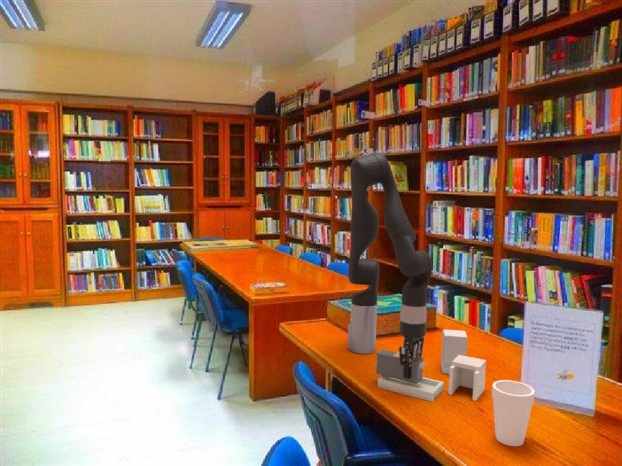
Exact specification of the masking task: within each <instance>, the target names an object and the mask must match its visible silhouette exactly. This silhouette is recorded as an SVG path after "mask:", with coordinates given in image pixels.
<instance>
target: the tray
mask: <svg viewBox="0 0 622 466" xmlns="http://www.w3.org/2000/svg"><path fill="white" fill-rule="evenodd" d="M444 386H445V381H441V380H436V379H432V378H428V377H425V376H423V377H422V380H421V381H420V382H419V383H418V384H414V383H410V382H406V381H402V380H398V379H394V378H390V377H386V376H382V375H380V377H379V378H377V388H379V389H383V390H387V391H391V392H395V393H398V394H401V395H402V394H403V395H405V396H410V397H413V398H417V399H421V400H425V401H427V402H432V403H433V402H434V401H435V400H436V399H437V398H438V397H439V396H440V395H441V394H442V392H443V391H444Z"/></svg>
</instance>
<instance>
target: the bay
mask: <svg viewBox="0 0 622 466" xmlns="http://www.w3.org/2000/svg"><path fill="white" fill-rule="evenodd" d="M486 366H487V360H486V359H482V358H478V357H476V358H475V357H473V356H467V355H466V356H463V355H458V356H457V357H456V358H455V359H454V360H453V361H452V366H451V367H450V372H449V374H448V375H449V376H448V391H447V392H448V394H447V395H450V396H451V395H453V394H454V393H455V392H456V390H457V389H458V388H460V387H464V388H469V389H472V401H475V402H477V401H478V399H479V398H480V396H481V395H482V394H483V393H484V391H485V384H486V383H485V382H486V370H487V369H486V368H487V367H486Z"/></svg>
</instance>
